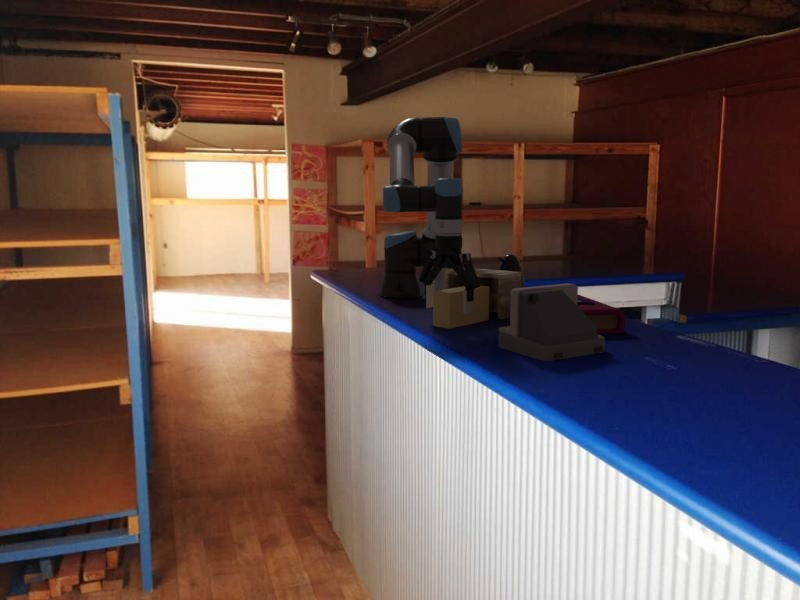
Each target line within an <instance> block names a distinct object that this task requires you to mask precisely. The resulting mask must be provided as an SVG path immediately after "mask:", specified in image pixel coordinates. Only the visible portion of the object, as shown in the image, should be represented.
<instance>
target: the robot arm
mask: <svg viewBox="0 0 800 600" xmlns="http://www.w3.org/2000/svg"><path fill="white" fill-rule="evenodd" d="M462 138H463V137H462V132H461V125H460V121H459V119H458V118H456V117H449V116H448V117H447V116H441V117H440V116H431V117H429V116H428V117H409V118H407V119H404V120H402V121H400V122H399V123H397V125H395V127H393V129H392V130H391V131H390V132H389V135H388V137H387V140H386V150H387V153H388V155H389V185H386V186H385V185H384V187H383V188H382V208H383V210H384V211H385V212H389V213H414V212H415V213H416V212H418V213H422V212H423V213H424V212H425V213H426V227H424V228H423V229H422V232H421V233H422V234H417V231H415V230H410V231H402V232H395V233H390V234H387V235H386V236H385V238H384V239H383V240H384V244H383V250H384V258H383V259H384V262H383V263H384V266H383V267H384V276H383V279H382V283H381V287H380V289H379V296H380V295H382V296H386V297H396V298H395V299H413V298H414V299H415V298H418V297H421V296H422V289H421V287H420V283H423V285H424V296H425V299H426V300H425V306H426V309H431V308H433V291H434V284H433V281H434V279H435V278H436V277H437V275H438V274H439V272H440V271H441V269H442V268H449V269H453V270H454V271H455V272H456V273H457V275H458V276H459V278H460V280H461V281H462V283H463V285H464V286H465V288H466V289H465V290H464V295H463V313H464V314H467V313H471V312H472V301H473V300H474V289H475V288H478V287H480V283H479V280H478V278H477V275H476V272H475V270H474V268H475V267H474V265H473V262H472V254H471V253H470V252H468V253H466V252H465V253H462V248H463V236H462V235H461V234H462V233H463V196H464V195H463V193H464V189H463V187H464V186H463V180H462V178H460V177H459V178H457V177H456V178H455V177H453V171H454V170H453V169H454V162H455V163H456V161H457V160H458V158H459V157H458V156H459V155H458V154H462V153H463V141H462ZM414 154H422V159H423V160H424V161H425V162H426V163H427V183H426V184H427V185H415V181H416V179H415V161H414V159H415V158H414V157H415V156H414ZM463 267H464V268H465V270H464V268H463ZM417 268H422V269H421V272H420V275H419V276H418V277H419V279H418V277H417Z"/></svg>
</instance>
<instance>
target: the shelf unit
mask: <svg viewBox="0 0 800 600" xmlns="http://www.w3.org/2000/svg"><path fill="white" fill-rule="evenodd" d="M464 270H465V268H464ZM474 270H475V272H476V275H477V278H478V280H479V283H480V286H487V287H489V313H497V320H506V319H510V301H511V290H512V289H514V288H521V279H522V272H523V271H522V272H515V271H503V270H498V269H490V268H479V267H478V268H477V267H474ZM463 286H464V285H463V283H462V281H461V280H460V278H459V276H458V275H457V273H456V272H455V271H454V270H453V269H449V270H445V289H451V288H457V287H463Z"/></svg>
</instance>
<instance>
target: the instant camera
mask: <svg viewBox="0 0 800 600" xmlns="http://www.w3.org/2000/svg"><path fill="white" fill-rule="evenodd" d="M578 291H579V287H578V285H577V284H575V283H558V284H549V285H539V286H527V287H526V286H524V287H523V288H514V289H512V290H511V301H510V318H509V325H507V326H501V327H499V328H498V348H500V349H503V350H506V351H508V352H513V353H515V354H520V355H523V356H525V357H528V358H532V359H536V360H540V361H543V362H544V361H545V362H550V361H552V362H553V361H557V360H564V359H570V358H576V357H583V356H589V355H595V354H601V353H605V341H606V338H605V336H603V335H602V334H597V330H596V327H595V326H594V324H593V322H592V321H591V320H590V319H589V318H588V317H587V316H586V315H585V314H584V313H583V312H582V311H581V309H580V308H579V307H578V306H577V298H578V295H579V292H578Z"/></svg>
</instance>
